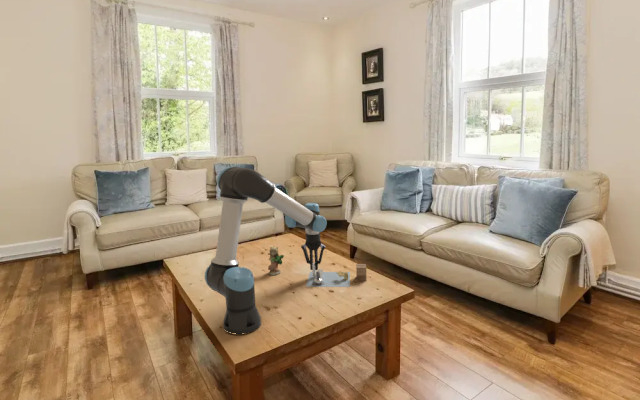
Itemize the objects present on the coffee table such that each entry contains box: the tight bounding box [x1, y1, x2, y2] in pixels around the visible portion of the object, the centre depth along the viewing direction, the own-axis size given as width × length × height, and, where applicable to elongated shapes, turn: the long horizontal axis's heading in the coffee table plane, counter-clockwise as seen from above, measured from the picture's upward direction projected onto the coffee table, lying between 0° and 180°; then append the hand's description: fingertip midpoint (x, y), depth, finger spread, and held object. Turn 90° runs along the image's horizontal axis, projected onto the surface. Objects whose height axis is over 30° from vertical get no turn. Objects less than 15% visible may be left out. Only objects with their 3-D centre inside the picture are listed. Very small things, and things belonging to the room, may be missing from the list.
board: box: [305, 270, 351, 288], centre depth 193 cm, size 19×22×7 cm
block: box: [355, 263, 367, 282], centre depth 192 cm, size 5×5×8 cm
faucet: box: [314, 268, 324, 285], centre depth 194 cm, size 15×4×2 cm, turn 175°
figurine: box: [267, 246, 284, 276], centre depth 204 cm, size 9×8×15 cm
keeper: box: [336, 270, 348, 280], centre depth 192 cm, size 5×5×4 cm
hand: (314, 275), depth 196 cm, fingers closed
